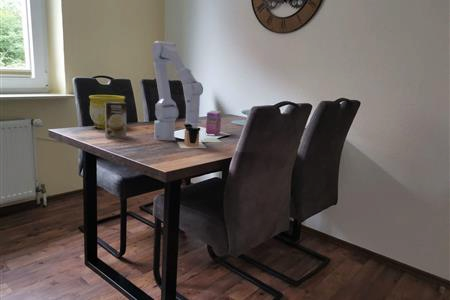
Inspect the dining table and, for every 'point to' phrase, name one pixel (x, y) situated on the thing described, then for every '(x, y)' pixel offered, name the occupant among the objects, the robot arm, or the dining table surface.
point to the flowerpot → (101, 107)
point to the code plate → (191, 146)
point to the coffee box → (115, 119)
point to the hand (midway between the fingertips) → (191, 141)
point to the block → (187, 140)
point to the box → (213, 122)
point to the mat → (210, 140)
